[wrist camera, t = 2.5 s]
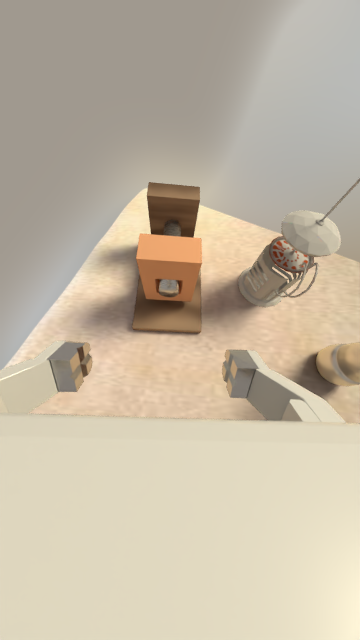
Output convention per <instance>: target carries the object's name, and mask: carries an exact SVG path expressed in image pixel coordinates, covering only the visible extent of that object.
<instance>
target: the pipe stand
mask: <svg viewBox="0 0 360 640" xmlns="http://www.w3.org/2000/svg"><path fill="white" fill-rule="evenodd" d="M147 200H148V210H149V219H150V228H151V234H152V235H164V224H165V222H166V221H168V220H171V219H173V220H177V221H178V222H179V223H180V225H181V237H191V238H193V236H194V231H195V225H196V219H197V213H198V208H199V202H200V187H194V186H183V185H172V184H161V183H151V182H149V185H148V192H147ZM132 328H133V330H149V331H169V332H189V333H200V332H201V268H200V271H199V275H198V279H197V282H196V286H195V289H194V293H193V297H192V300H191V302H188V301H171V300H154V299H146V297H145V293H144V289H143V285H142V280H141V276H140V275H139V282H138V290H137V297H136V304H135V312H134V319H133V327H132Z"/></svg>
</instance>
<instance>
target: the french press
mask: <svg viewBox="0 0 360 640" xmlns="http://www.w3.org/2000/svg"><path fill="white" fill-rule="evenodd" d="M359 181H360V179H359V180H358V181H357V182H356V183H355V184H354V185H353V186H352V187H351V188H350V189H349V191H348V192H347V193H346V194H345V195H344V196H343V197H342V198H341V199H340V200H339V201H338V202H337V203H336V205H335V206H334V207H333V208H332V209H331V210H330V211H329V212H328V213H327V214H326V215H325V216H324V215H323V214H321V213H315V212H310V211H305V210H304V211H295V212H293V213H290V214H288V215H287V216H286V217H285V218H284V220H283V221H282V235H283V236H281V237H277V238H276V239H274V240H273V241H272V242H271V244H269V245H267V246H266V247H265V249H264V250H263V252H262V253H261V254H260V256H259V257H258V259H257V260H258V261H257V260H256V262H255V263H254V264H253V266H252V267H250V268H248V269H246V270H244V271H243V272H242V273H241V275H240V276H239V281H238V286H239V289H240V292H241V294H242V295H243V296H244V297H245V298H246V300H247V301H249V302H251V303H252V304H254V305H256V306H261V307H271V306H275V305H276V304H278V303H279V302H281V300H282V298H283V297H287V296H288V297H290V298H295V297H298V296H301V295H302V294H304V293H305V292H307V291H308V290H309V289H310V287H311V286H312V284H313V283H314V281H315V278H316V276H317V273H318V266H319V265H318V263H314V257H321V256H328V255H331V254H332V253H334V252H336V251H337V250H338V249H339V247H340V244H341V239H340V234H339V231H338V229H337V226H336V225H335V224H334V223H333V222H332V221H331V220H329V219H328V218H327V216H328V215H329V214H330V213H331V211H333V210H334V208H335V207H336V206H337V205H338V204H339V203H340V202H341V201H342V200H343V199H344V198H345V197H346V196H347V195H348V194H349V192H350V191H351V190H352V189H353V188H354V187H355V186H356V185H357V184H358V183H359ZM263 253H264V254H263ZM313 263H314V264H313ZM275 264H276V265H277V266H276V265H275ZM315 265H316V272H315V275H314V278H313V280H312V282H311V284H310V285H309V287H308V288H307V289H306V290H305V291H304V292H302V293H301V294H299V295H296V296H290V295H291V294H292V293H294V292H295V291H296V290H297V289H298V288H299V286H300V284H301V283H302V281H303V279H304V277H305V275H306V273H307V271H308V269H310V268H311V267H313V266H315ZM272 267H274V268H276V269H277V270H278V271H280V272H281V273H283V274H284V275H286V276H287V277H288V278H289V283H287V280H288V279H285V278H284V277H283V276H281V275H280V274H279V273H277V272H276V271H274V270H273V269H272ZM279 267H280V268H279ZM281 268H282V269H284V270H285V271H288V272H291V273H292V274H293V277H294V279H293V280H292V278H291V275H289V274H288V273H286V272H285V271H283V270H282V269H281ZM302 272H303V274H302V276H301V278H302V279H301V278H300V275H301V273H302ZM296 273H299V275H298V278H297V279H296V277H297V276H296ZM300 279H301V281H300V283H299V284H298V286H297V288H296V289H295V290H293V291H292V292H291V293H290V294H287V293H286V290H287V289H288V288H290V287H291V286H292V285H293V284H295V283H296V282H297V281H298V280H300ZM284 293H285V294H286V295H285V296H284Z"/></svg>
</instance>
